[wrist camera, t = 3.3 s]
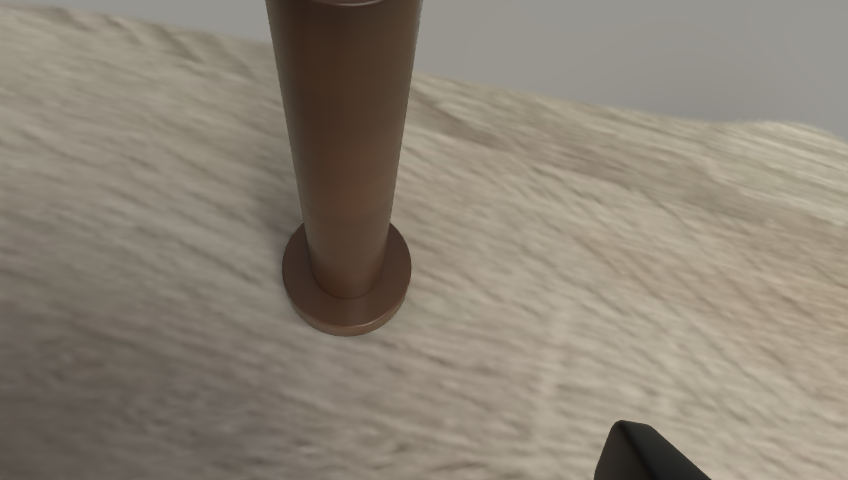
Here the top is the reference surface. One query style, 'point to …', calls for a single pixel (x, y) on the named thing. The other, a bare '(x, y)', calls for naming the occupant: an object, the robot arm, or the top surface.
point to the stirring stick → (345, 154)
